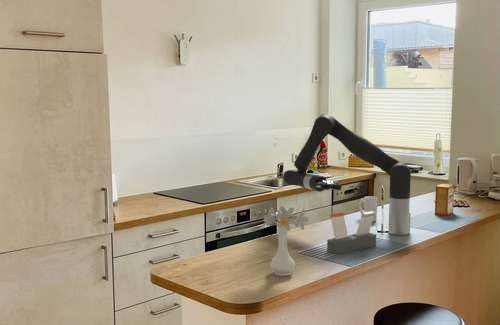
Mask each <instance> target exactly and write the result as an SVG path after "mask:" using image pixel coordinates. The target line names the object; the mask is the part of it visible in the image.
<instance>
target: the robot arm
mask: <svg viewBox="0 0 500 325" xmlns="http://www.w3.org/2000/svg"><path fill="white" fill-rule="evenodd" d="M328 135H329V136H331V137H333V139H336V140H337V141H338V142H340V143H341V144H342V145H343V146H344V147H345V148H346V149H347V151H348V152H350V153H351V154H352V155H353V156H356V158H359V159H360V160H362V161H364V162H365V163H368V164H370V165H373V166H375V167H377V168H379V169H380V170H381V171H383V172H384V173H386V174H387V175H388V176H389V194H388V195H389V200H388V201H389V204H388V205H389V207H388V234H390V235H394V236H406V235H407V236H408V235H409V234H410V233H411V212H410V200H411V199H410V198H411V196H410V195H411V181H412V180H411V178H412V176H411V174H412V173H411V169H410V167H409V166H408V165H407V164H406V163H404V162H401V161H399V160H397V159H395V158H394V157H392V156H390V155H389V154H387V153H386V152H385V151H383V149H381V148H379V147H378V146H377V145H375V144H374V143H373V142H371V141H370V140H368V139H367V138H364V136H361V135H360V134H358V133H357V132H355V131H353V130H352V129H350V128H348V127H346V126H345V125H343V124H342V123H341V122H340V121H338V120H337V119H336V118H335V117H333V116H332V115H331V114H328V113H322V114H320V115H319V116H318V117H316V119H315V120H314V123H313V126H312V128H311V132H310V134H309V137H308V138H307V141H306V142H305V144H304V145H303V147H302V148H301V150H300V151H299V154H298V155H297V157H296V159H295V161H294V163H293V165H294V167H295V168H296V169H297V170H292V169H290V170H289V169H288V170H286V171H285V172H284V173H283V174H282V180H283V182H284V183H285V184H287V185H290V186H296V187H297V186H298V187H301V188H306V189H308V190H311V191H315V192H319V193H320V192H324V191H325V190H327V191H329V190H336V191H341V190H342V185H341V184H339V182H338V180H334V181H332V180H330V179H327V178H326V177H325V176H323V175H321V174H315V173H308V172H307V170H308V168H309V167H310V164H311V163H312V161H313V159H314V157H315V155H316V153H317V150H318V149H319V147H320V145H321V143H322V142H323V141H324V139H325V138H326V137H327V136H328Z"/></svg>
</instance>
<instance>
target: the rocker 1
mask: <svg viewBox="0 0 500 325" xmlns="http://www.w3.org/2000/svg"><path fill="white" fill-rule="evenodd" d="M329 216H330V221H331V225H332V230H333V235H334V238H335V239H341V238H346V237H348V235H349V234H348V230H347V225H346V220H345V214H344V212H338V213H337V212H336V213H330V214H329Z"/></svg>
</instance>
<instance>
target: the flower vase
mask: <svg viewBox="0 0 500 325" xmlns="http://www.w3.org/2000/svg"><path fill="white" fill-rule="evenodd" d="M294 210H295V208H294V207H293V206H292V207H289V208H288V209H287V210H286V208H285V207H283V206H281V205H280V207H279V209H277V210H276V211H275V209H274V208H273V207H272V206H271V207H270V208H269V209H268V212H267V214H264V215H263V216H262V217H263V222H264V223H263V224H262V225H261V228H263V227H264V226H267V227H269V226H271V224H273V223H275V224H276V227H277V231H278V245H277V246H278V247H277V252H276V254H275V256H274V257H273V258H272V259H271V261H270V264H269V265H270V268H271V270H272V271H273V273H274V274H275V276H278V277H287V276H290V275H291V274H292V271H294V270H295V268H296V262H295V260H294V259H293V257H291V255H290V253H289V250H288V238H287V236H288V232H290V231H291V226H290V225H292V224H293V225H295V227H296V228H297V227H300V229H301V230H305V224H304V223H306V222H308V221H309V217H308V216H305V214H306V213H305V212H306V210H305V209H302V210H301V211H300V213H298V212H297V213H296V214H293V213H294Z"/></svg>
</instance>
